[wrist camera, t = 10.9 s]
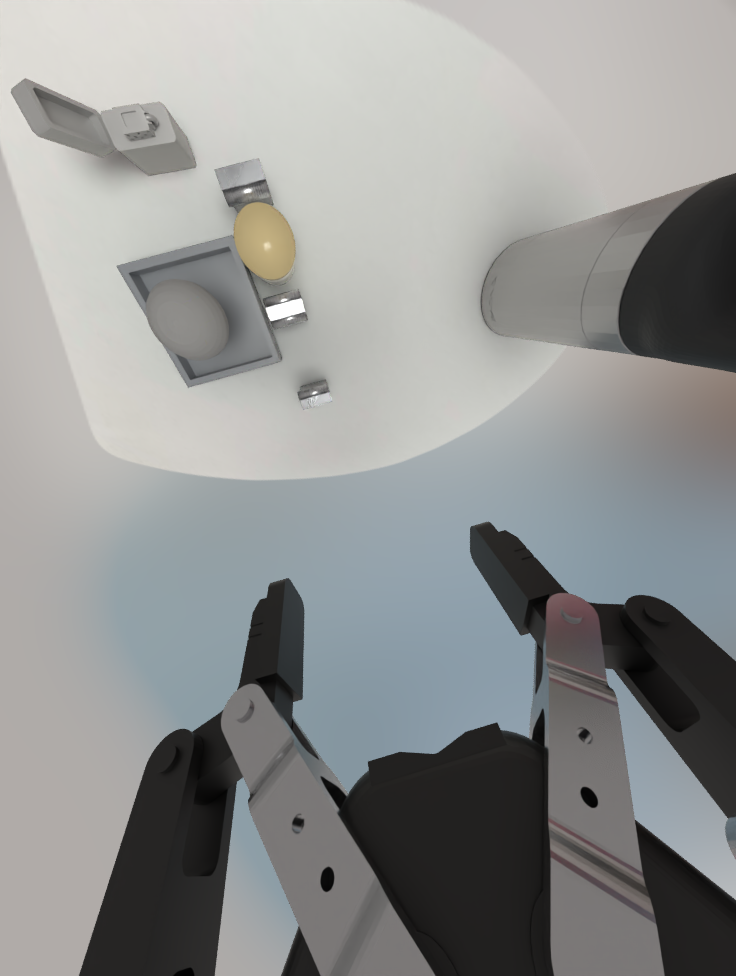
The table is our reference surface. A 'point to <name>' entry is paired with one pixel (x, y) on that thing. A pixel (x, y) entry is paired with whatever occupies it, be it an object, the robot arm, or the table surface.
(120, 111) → the lighter
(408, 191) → the table surface
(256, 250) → the cream domed cylinder
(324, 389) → the clip block
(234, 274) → the tray
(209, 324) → the light bulb
